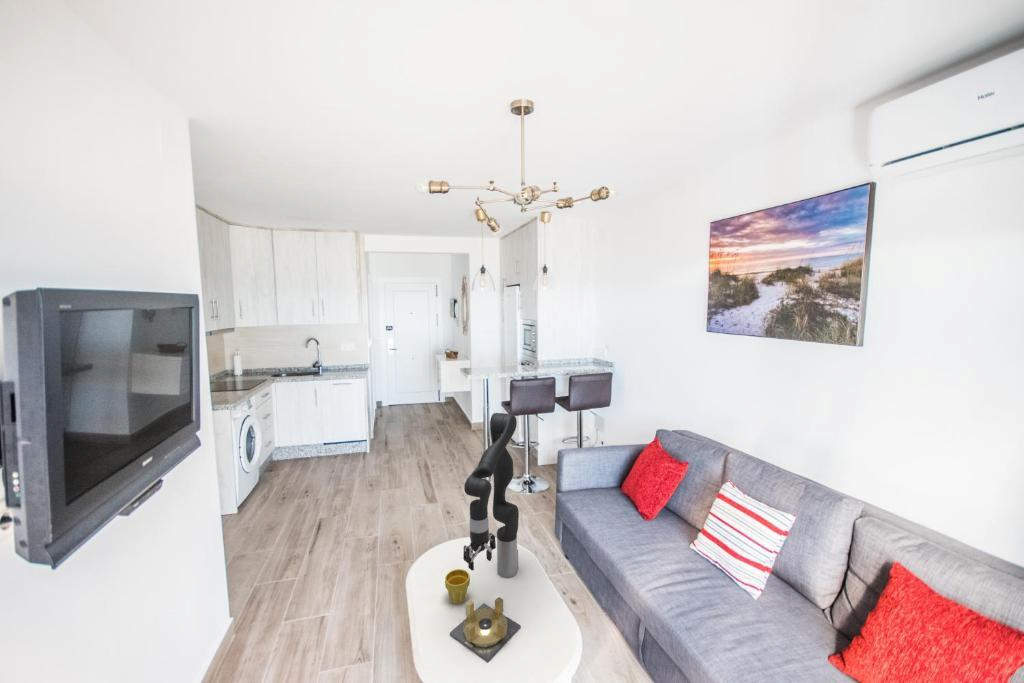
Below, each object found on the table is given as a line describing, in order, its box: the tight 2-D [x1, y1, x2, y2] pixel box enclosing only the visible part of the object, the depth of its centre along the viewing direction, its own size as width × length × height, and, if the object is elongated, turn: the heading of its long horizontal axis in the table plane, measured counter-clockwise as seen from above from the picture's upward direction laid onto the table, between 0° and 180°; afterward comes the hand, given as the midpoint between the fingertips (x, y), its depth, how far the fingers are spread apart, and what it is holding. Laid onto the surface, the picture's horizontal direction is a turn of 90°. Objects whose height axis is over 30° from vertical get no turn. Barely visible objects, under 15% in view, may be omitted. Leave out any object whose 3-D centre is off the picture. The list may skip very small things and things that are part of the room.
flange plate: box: [449, 602, 522, 663], centre depth 157 cm, size 19×19×1 cm
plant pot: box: [444, 568, 471, 605], centre depth 174 cm, size 10×10×10 cm
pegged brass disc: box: [463, 596, 508, 647], centre depth 157 cm, size 19×19×6 cm
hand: (480, 564), depth 166 cm, fingers open, 8 cm apart
